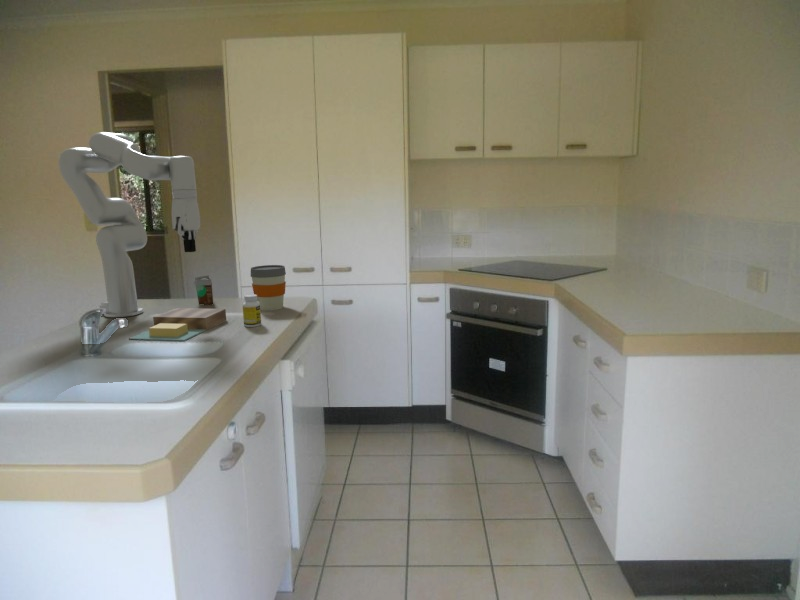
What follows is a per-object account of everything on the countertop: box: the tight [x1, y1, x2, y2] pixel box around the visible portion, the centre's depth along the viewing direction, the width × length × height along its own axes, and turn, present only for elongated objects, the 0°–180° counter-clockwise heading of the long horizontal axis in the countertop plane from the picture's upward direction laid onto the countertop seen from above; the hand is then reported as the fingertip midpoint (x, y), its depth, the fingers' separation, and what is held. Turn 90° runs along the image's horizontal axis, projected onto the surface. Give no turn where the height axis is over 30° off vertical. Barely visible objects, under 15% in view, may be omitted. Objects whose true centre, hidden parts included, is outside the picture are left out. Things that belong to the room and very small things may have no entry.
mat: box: [128, 329, 207, 342], centre depth 171 cm, size 18×12×1 cm, turn 80°
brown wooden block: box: [152, 307, 227, 331], centre depth 183 cm, size 18×13×4 cm
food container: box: [193, 275, 214, 306], centre depth 217 cm, size 12×6×10 cm, turn 23°
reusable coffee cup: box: [250, 264, 287, 311], centre depth 205 cm, size 13×13×15 cm
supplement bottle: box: [242, 293, 262, 328], centre depth 180 cm, size 5×5×10 cm
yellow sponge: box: [148, 323, 188, 337], centre depth 171 cm, size 9×6×2 cm, turn 81°
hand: (190, 251), depth 186 cm, fingers closed
